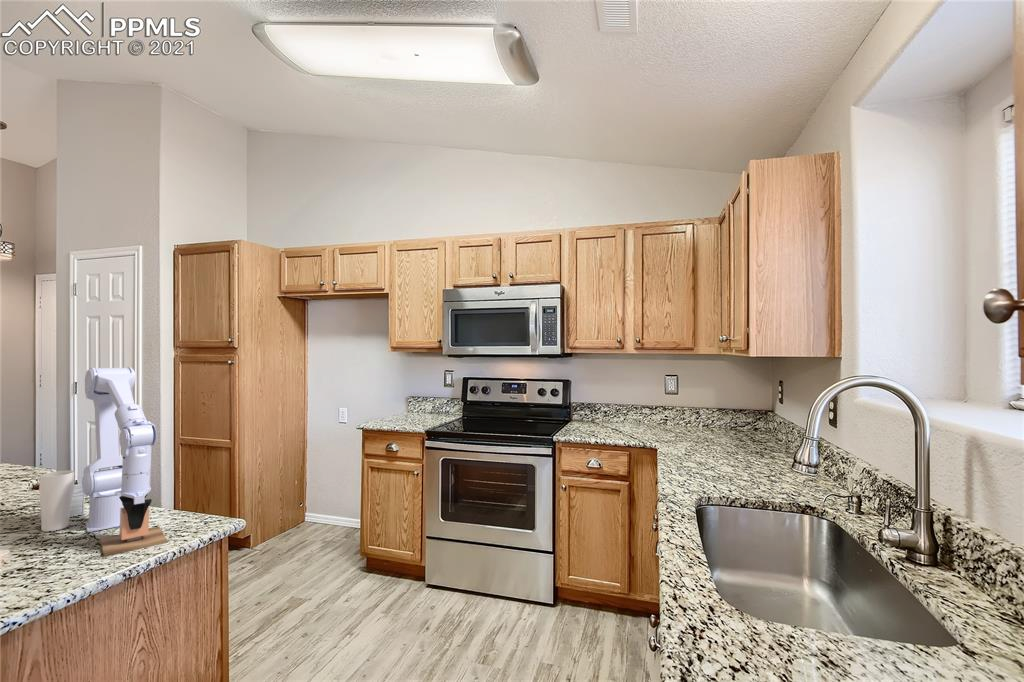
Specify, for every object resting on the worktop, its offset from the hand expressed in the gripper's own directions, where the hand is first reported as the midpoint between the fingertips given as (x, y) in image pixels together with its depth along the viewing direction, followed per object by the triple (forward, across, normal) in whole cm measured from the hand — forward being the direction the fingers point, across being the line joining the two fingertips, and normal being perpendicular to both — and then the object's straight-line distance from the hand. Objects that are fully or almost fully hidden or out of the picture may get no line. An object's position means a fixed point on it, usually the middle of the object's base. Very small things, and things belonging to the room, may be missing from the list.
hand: (134, 525), depth 116 cm
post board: (+4, 0, 0) cm, 4 cm away
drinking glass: (+4, -25, -14) cm, 29 cm away
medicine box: (+4, -35, -12) cm, 37 cm away
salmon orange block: (+2, 0, 0) cm, 2 cm away
